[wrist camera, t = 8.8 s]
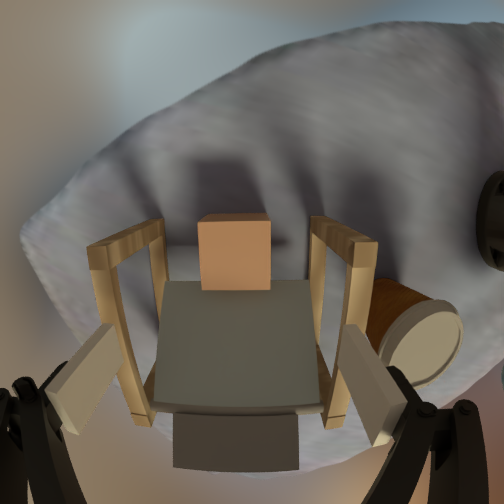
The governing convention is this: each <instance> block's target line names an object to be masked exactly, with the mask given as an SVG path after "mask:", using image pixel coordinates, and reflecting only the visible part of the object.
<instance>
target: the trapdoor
mask: <svg viewBox="0 0 504 504" xmlns="http://www.w3.org/2000/svg"><path fill="white" fill-rule="evenodd" d="M150 409H151V411H157V412H165V413H173V467H176V468H183V469H193V470H202V471H216V472H278V471H292V470H299V435H298V415H304V414H315V413H323V410H324V404H323V400H320V397H319V381H318V366H317V353H316V342H315V331H314V320H313V310H312V301H311V292H310V283H309V280H278V281H270V290H202V286H201V281H165V284H164V291H163V299H162V307H161V315H160V324H159V334H158V344H157V355H156V368H155V384H154V398H152V399H151V401H150Z"/></svg>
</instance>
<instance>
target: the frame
mask: <svg viewBox="0 0 504 504" xmlns="http://www.w3.org/2000/svg"><path fill="white" fill-rule="evenodd" d="M148 244H149V249H150V259H151V268H152V276H153V284H154V292H155V299H156V306H157V312H158V318H159V324H160V315H161V307H162V299H163V291H164V284H165V281H169V273H168V263H167V252H166V239H165V225H164V219H150V220H147V221H145V222H142V223H140V224H137V225H135V226H133V227H130V228H128V229H125V230H123V231H121V232H118V233H116V234H114V235H111V236H109V237H107V238H105V239H102V240H100V241H98V242H96V243H93V244H91V245H89V246H87V247H86V248H87V255H88V262H89V268H90V270H91V275H92V281H93V286H94V291H95V296H96V301H97V306H98V310H99V315H100V319H101V323H102V324H103V323H110V324H114V326H115V330H116V334H117V338H118V342H119V345H120V349H121V353H122V356H123V360H124V362H123V364H122V366H121V367H120V369H119V370H118V372H117V373H116V374H117V377H118V380H119V383H120V386H121V389H122V391H123V394H124V397H125V399H126V402H127V404H128V407H129V409H130V412H131V416H132V418H133V421H134V423H135V425H139V426H145V427H152V424H153V421H154V418H155V416H156V413H157V411H151V409H150V401H151V399H152V398H154V384H155V368H156V361H155V363H154V365H153V367H152V369H151V371H150V373H149V376H148V378H147V380H146V382H145V384H144V386H143V385H142V382H141V378H140V375H139V371H138V368H137V364H136V360H135V357H134V353H133V349H132V345H131V341H130V337H129V332H128V328H127V323H126V319H125V314H124V309H123V304H122V298H121V293H120V287H119V281H118V275H117V268H116V265H118V264H119V263H121V262H122V261H123V260H125V259H126V258H128V257H129V256H131V255H132V254H134V253H135V252H137V251H138V250H140V249H142V248H143V247H145V246H146V245H148ZM327 246H328V247H330V248H331V249H332V250H333V251H334V252H335V253H337V254H338V255H339V256H340V257H341V258H342V259H343V260H345V261H346V262H347V272H346V283H345V293H344V301H343V310H342V318H341V325H340V332H339V339H338V345H337V352H336V358H335V363H334V369H333V374H332V379H331V376H330V374H329V371H328V368H327V366H326V363H325V361H324V358H323V355H322V353H321V350H320V348H319V345H318V343H319V334H320V325H321V315H322V304H323V293H324V280H325V265H326V247H327ZM377 250H378V242H377V241H375V240H373V239H371V238H369V237H367V236H365V235H363V234H361V233H359V232H357V231H355V230H353V229H351V228H349V227H347V226H345V225H343V224H341V223H339V222H337V221H334V220H332V219H330V218H328V217H326V216H310V250H309V273H308V280H309V283H310V292H311V301H312V310H313V320H314V331H315V342H316V353H317V366H318V381H319V397H320V400H323V404H324V410H323V413H320V414H321V417H322V421H323V425H324V428H325V430H326V429H333V428H340V427H342V426H343V423H344V419H345V414H346V411H347V408H348V404H349V400H350V397H351V395H350V392H349V390H348V388H347V386H346V383H345V381H344V379H343V376H342V374H341V372H340V369H339V367H338V365H337V361H338V356H339V350H340V344H341V337H342V331H343V325H347V324H356V325H357V326H358V327H359V329H360V330H361V332H362V333H363V335H364V336H365V332H366V326H367V320H368V315H369V308H370V302H371V295H372V288H373V280H374V272H375V267H376V260H377Z"/></svg>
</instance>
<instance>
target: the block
mask: <svg viewBox="0 0 504 504" xmlns="http://www.w3.org/2000/svg"><path fill="white" fill-rule="evenodd" d="M198 240H199V257H200V272H201V286H202V290H270V281H271V220H270V219H269V217H268V215H267V213H225V214H208V215H206V216H205V217H204V218H202V219H201V220H200V221H199V222H198Z"/></svg>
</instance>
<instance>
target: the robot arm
mask: <svg viewBox="0 0 504 504" xmlns="http://www.w3.org/2000/svg"><path fill="white" fill-rule="evenodd" d="M476 229H477V241H478V246H479V250H480V253H481V255H482V258H483V259H484V261H485V262H486V263H487V264H488V265H489V266H490V267H493V268H495V269H497V270H499V271H503V272H504V171H498V172H496V173H494V174H493V175H492V176H491V177H490V178H489V179H488V181H487V182H486V184H485V186H484V188H483V191H482V194H481V197H480V201H479V205H478V211H477V225H476ZM123 362H124V360H123V356H122V353H121V349H120V345H119V342H118V338H117V334H116V330H115V326H114V324H110V323H103V324H102V325H101V326H100V327H99V328H98V329H97V330H96V331H95V333H94V334H93V335H92V336H91V337H90V338H89V339H88V340H87V341H86V342H85V343H84V345H83V346H82V347H81V348H80V349H79V350H78V351H77V353H76V354H75V355H74V356H73V357H72V358H71V359H70V360H69V361H65V362H64V363H62V364H61V365H59V366H58V367H57V368H56V369H55V370H54V372H53V373H52V374H51V375H50V377H48V378H47V380H46V381H45V382H44V383H43V384H42V385H41V386H40V388H39V389H37V386H36V384H35V382H34V380H33V379H32V378H31V377H21V378H18V379H17V380H15V381H14V383H13V384H12V388H13V390H14V392H15V394H16V395H17V397H12V396H11V395H10V393H9V391H8V390H7V389H5V388H0V504H28V501H27V500H28V497H27V490H28V489H27V488H28V486H27V485H28V481H29V485H30V490H31V493H32V497H33V501H34V504H87V502H86V500H85V498H84V495H83V493H82V491H81V488H80V485H79V483H78V480H77V478H76V475H75V472H74V469H73V467H72V463H71V461H70V458H69V454H68V451H67V448H66V444H65V440H64V437H63V433H62V431H61V429H60V427H61V425H62V424H63V425H64V426H65V428H66V429H67V431H68V432H71V433H74V434H77V435H80V434H81V432H82V430H83V428H84V427H85V425H86V423H87V422H88V420H89V418H90V416H91V414H92V413H93V411H94V410H95V408H96V406H97V405H98V403H99V401H100V399H101V398H102V396H103V395H104V393H105V391H106V389H107V388H108V386H109V385H110V383H111V382H112V380H113V378H114V377H115V375H116V373H117V372H118V370H119V369H120V367H121V366H122V364H123ZM337 365H338V367H339V369H340V372H341V374H342V376H343V379H344V381H345V383H346V386H347V388H348V390H349V392H350V395H351V397H352V399H353V402H354V404H355V406H356V409H357V411H358V414H359V416H360V418H361V421H362V423H363V426H364V428H365V430H366V433H367V435H368V438H369V440H370V443H371V445H372V447H375V446H379V445H383V444H387V443H388V442H389V440H390V438H391V436H392V437H393V439H394V441H395V442H394V444H393V446H392V448H391V449H390V451H389V453H388V456H387V459H386V460H385V462H384V464H383V466H382V468H381V470H380V472H379V474H378V476H377V478H376V479H375V481H374V483H373V485H372V486H371V488H370V490H369V492H368V493H367V495H366V496H365V498H364V500H363V502H362V503H361V504H408V503H409V501H410V499H411V497H412V494H413V492H414V490H415V487H416V485H417V482H418V480H419V477H420V474H421V472H422V469H423V467H424V464H425V461H426V458H427V455H428V452H429V451H431V471H430V484H429V494H428V502H427V504H489V488H488V472H487V461H486V452H485V445H484V439H483V432H482V426H481V421H480V416H479V411H478V408H477V406H476V405H475V404H474V403H473V402H471V401H470V400H465V399H463V400H459V401H458V402H456V403H455V405H454V406H453V408H452V409H437V407H436V406H435V405H433V404H432V403H429V402H423V401H422V400H421V398H420V397H419V395H418V394H417V392H416V391H415V389H414V388H413V387H412V385H411V384H410V383H409V381H408V379H407V378H406V377H405V375H404V374H403V372H402V371H401V370H400V369H398V368H397V367H395V366H394V365H393V366H387V367H385V366H384V364H383V363H382V361H381V360H380V358H379V357H378V355H377V354H376V352H375V351H374V349H373V348H372V346H371V345H370V343H369V342H368V340H367V339H366V338H365V336H364V335H363V333H362V332H361V330H360V329H359V327H358V326H357V325H356V324H347V325H343V331H342V337H341V344H340V350H339V356H338V361H337ZM501 379H502V384H503V389H504V366H503V368H502V373H501ZM7 427H8V428H9V431H7Z"/></svg>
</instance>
